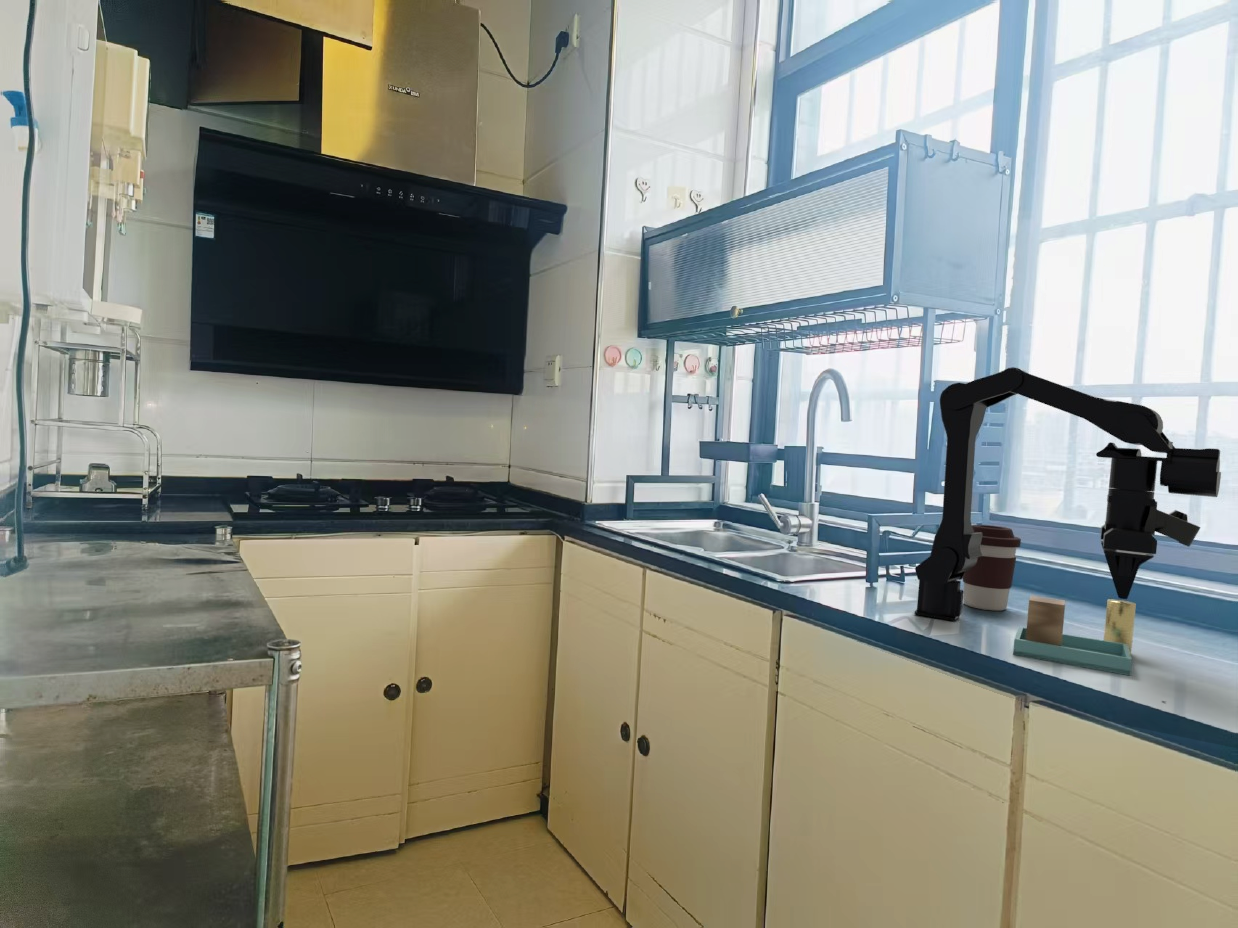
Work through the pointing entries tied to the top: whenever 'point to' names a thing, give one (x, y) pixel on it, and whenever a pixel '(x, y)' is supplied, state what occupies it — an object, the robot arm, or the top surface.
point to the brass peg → (1120, 622)
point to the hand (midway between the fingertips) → (1121, 594)
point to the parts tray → (1077, 652)
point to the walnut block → (1045, 620)
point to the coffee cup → (991, 569)
